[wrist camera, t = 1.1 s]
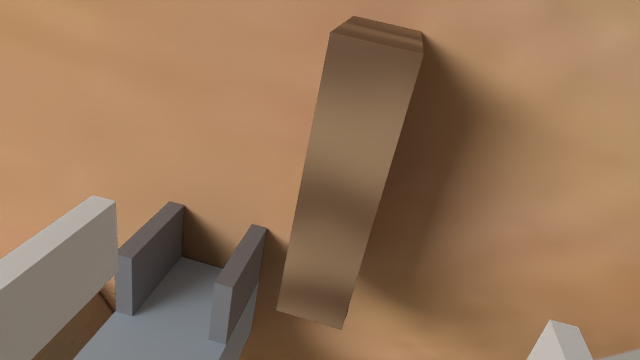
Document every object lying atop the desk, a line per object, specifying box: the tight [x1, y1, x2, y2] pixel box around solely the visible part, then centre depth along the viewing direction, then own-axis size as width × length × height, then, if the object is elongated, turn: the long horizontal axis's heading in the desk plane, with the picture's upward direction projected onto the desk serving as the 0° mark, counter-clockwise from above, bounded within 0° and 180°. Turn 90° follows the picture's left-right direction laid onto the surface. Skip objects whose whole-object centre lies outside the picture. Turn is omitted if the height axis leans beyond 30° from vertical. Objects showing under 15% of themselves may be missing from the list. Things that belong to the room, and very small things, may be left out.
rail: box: [276, 16, 424, 330], centre depth 25 cm, size 16×4×8 cm, turn 169°
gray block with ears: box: [73, 201, 267, 360], centre depth 28 cm, size 11×8×16 cm
